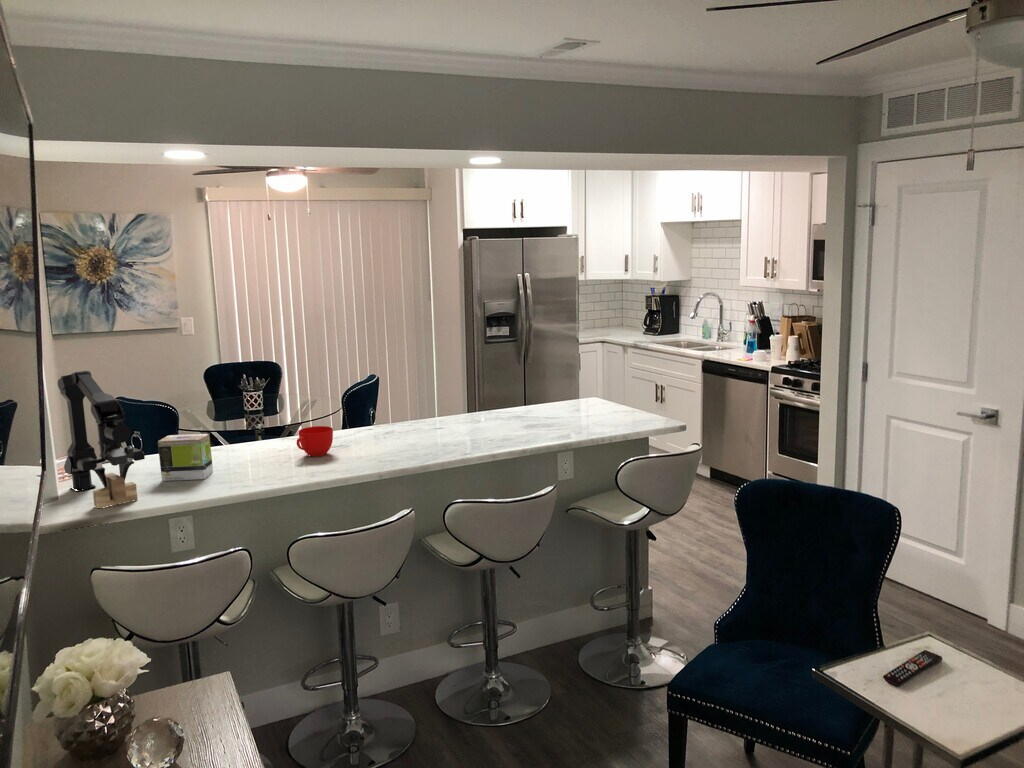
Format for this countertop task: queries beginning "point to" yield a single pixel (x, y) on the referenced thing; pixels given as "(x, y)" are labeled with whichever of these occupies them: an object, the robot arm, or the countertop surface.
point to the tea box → (185, 457)
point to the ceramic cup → (315, 440)
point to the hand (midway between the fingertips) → (114, 485)
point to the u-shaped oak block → (104, 499)
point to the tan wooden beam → (116, 487)
